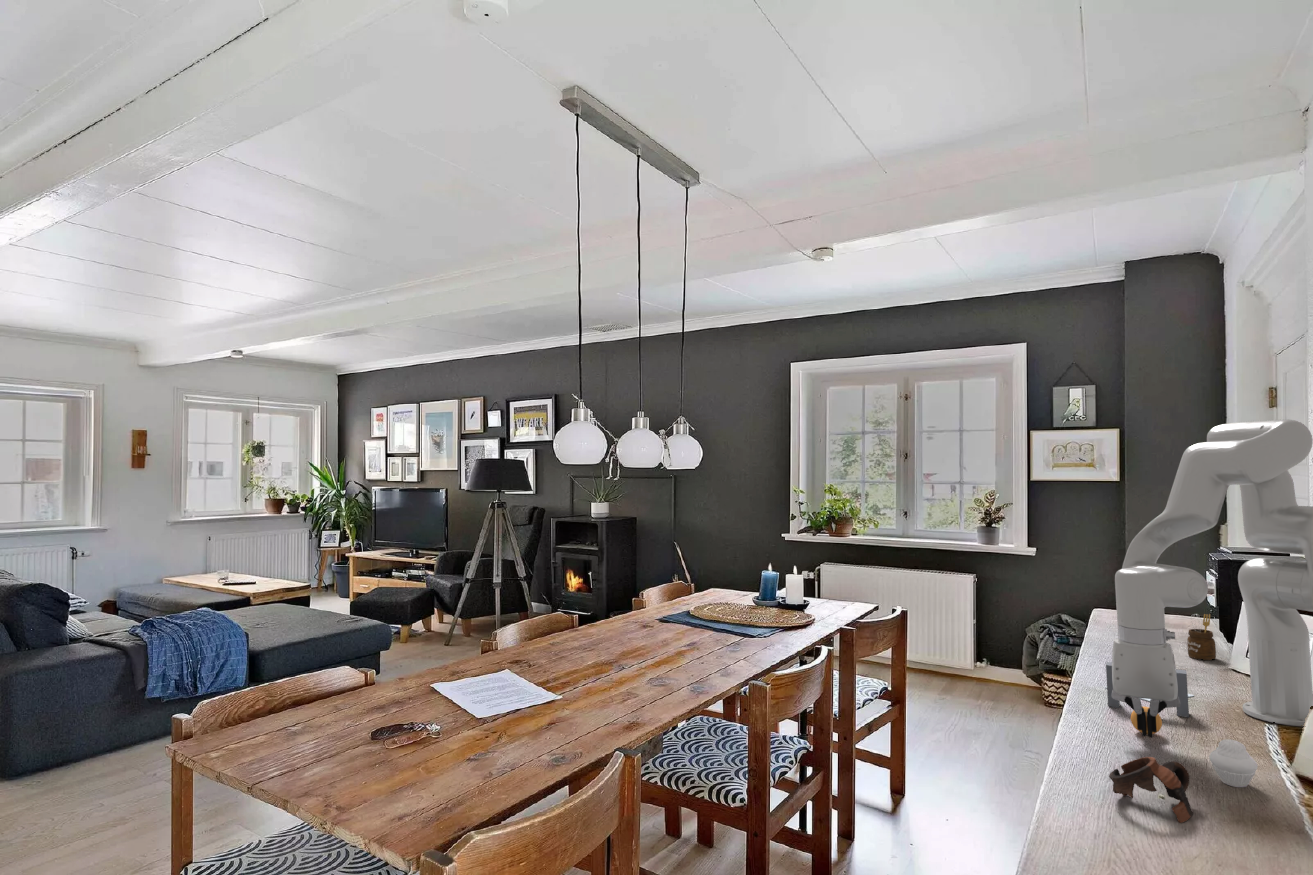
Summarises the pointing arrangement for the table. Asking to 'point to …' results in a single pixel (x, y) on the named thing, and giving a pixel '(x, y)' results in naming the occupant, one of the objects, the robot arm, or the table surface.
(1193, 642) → the utensil holder
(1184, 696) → the bridge
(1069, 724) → the table surface
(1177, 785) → the broken clay pot
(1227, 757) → the muffin
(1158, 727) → the ball
